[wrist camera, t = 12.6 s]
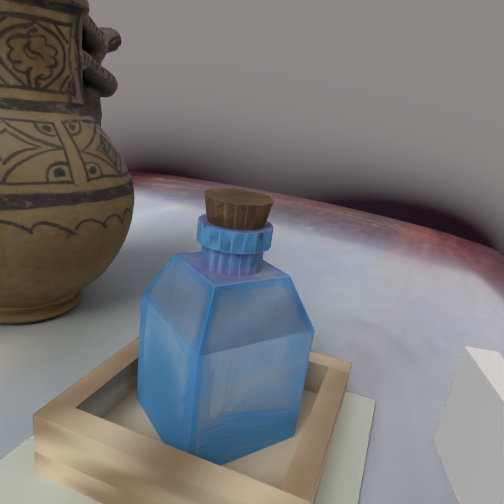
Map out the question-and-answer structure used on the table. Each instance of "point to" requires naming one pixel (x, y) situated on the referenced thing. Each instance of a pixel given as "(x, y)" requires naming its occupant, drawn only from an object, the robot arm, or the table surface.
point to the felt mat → (327, 499)
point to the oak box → (172, 459)
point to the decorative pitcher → (56, 159)
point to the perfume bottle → (224, 338)
